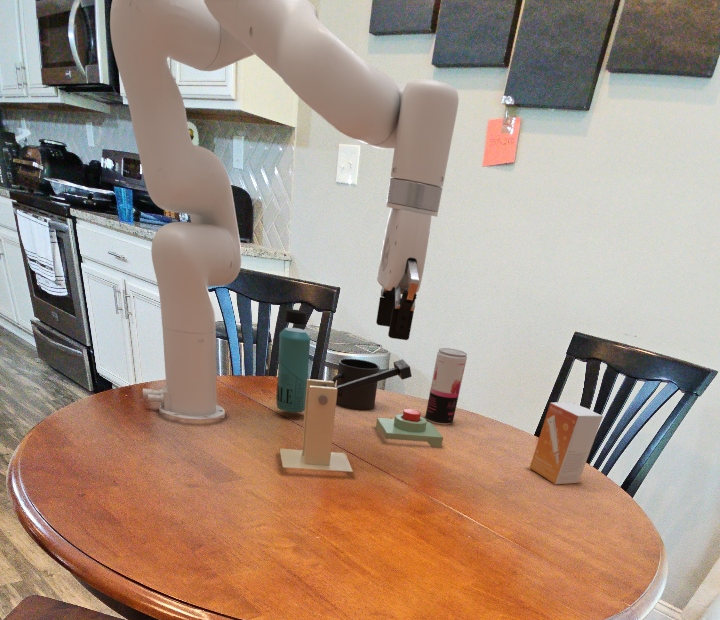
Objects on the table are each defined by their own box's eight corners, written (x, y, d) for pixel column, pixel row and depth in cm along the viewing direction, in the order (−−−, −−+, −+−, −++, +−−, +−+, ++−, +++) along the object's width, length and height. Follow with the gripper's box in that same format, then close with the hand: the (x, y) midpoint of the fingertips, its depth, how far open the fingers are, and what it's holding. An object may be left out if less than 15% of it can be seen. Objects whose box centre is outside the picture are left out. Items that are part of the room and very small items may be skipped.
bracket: (344, 459, 108) (353, 380, 100) (352, 478, 101) (362, 394, 93) (279, 454, 106) (283, 373, 97) (282, 474, 99) (287, 387, 90)
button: (404, 422, 120) (405, 413, 119) (400, 416, 123) (401, 408, 122) (421, 423, 121) (422, 415, 120) (416, 418, 123) (418, 409, 122)
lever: (405, 371, 99) (402, 356, 97) (412, 379, 95) (409, 363, 93) (313, 400, 99) (309, 386, 98) (316, 409, 95) (312, 394, 94)
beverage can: (455, 426, 135) (471, 356, 126) (428, 424, 134) (442, 353, 125) (448, 418, 140) (462, 349, 131) (422, 415, 139) (435, 346, 130)
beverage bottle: (308, 413, 128) (315, 310, 116) (302, 422, 123) (310, 315, 111) (278, 408, 128) (283, 305, 116) (272, 417, 123) (276, 309, 111)
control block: (385, 443, 119) (388, 423, 116) (375, 427, 126) (378, 408, 124) (441, 447, 121) (445, 428, 119) (428, 432, 129) (432, 413, 127)
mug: (317, 400, 138) (321, 359, 132) (358, 397, 144) (363, 358, 139) (341, 412, 132) (345, 369, 127) (382, 409, 139) (388, 368, 133)
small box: (528, 468, 118) (549, 401, 110) (552, 467, 120) (574, 401, 112) (554, 485, 112) (578, 415, 104) (579, 483, 115) (604, 415, 107)
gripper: (376, 193, 89) (359, 318, 99) (401, 196, 76) (379, 340, 86) (423, 202, 91) (402, 324, 101) (456, 207, 78) (427, 347, 88)
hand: (391, 331), depth 94 cm, fingers open, 9 cm apart
